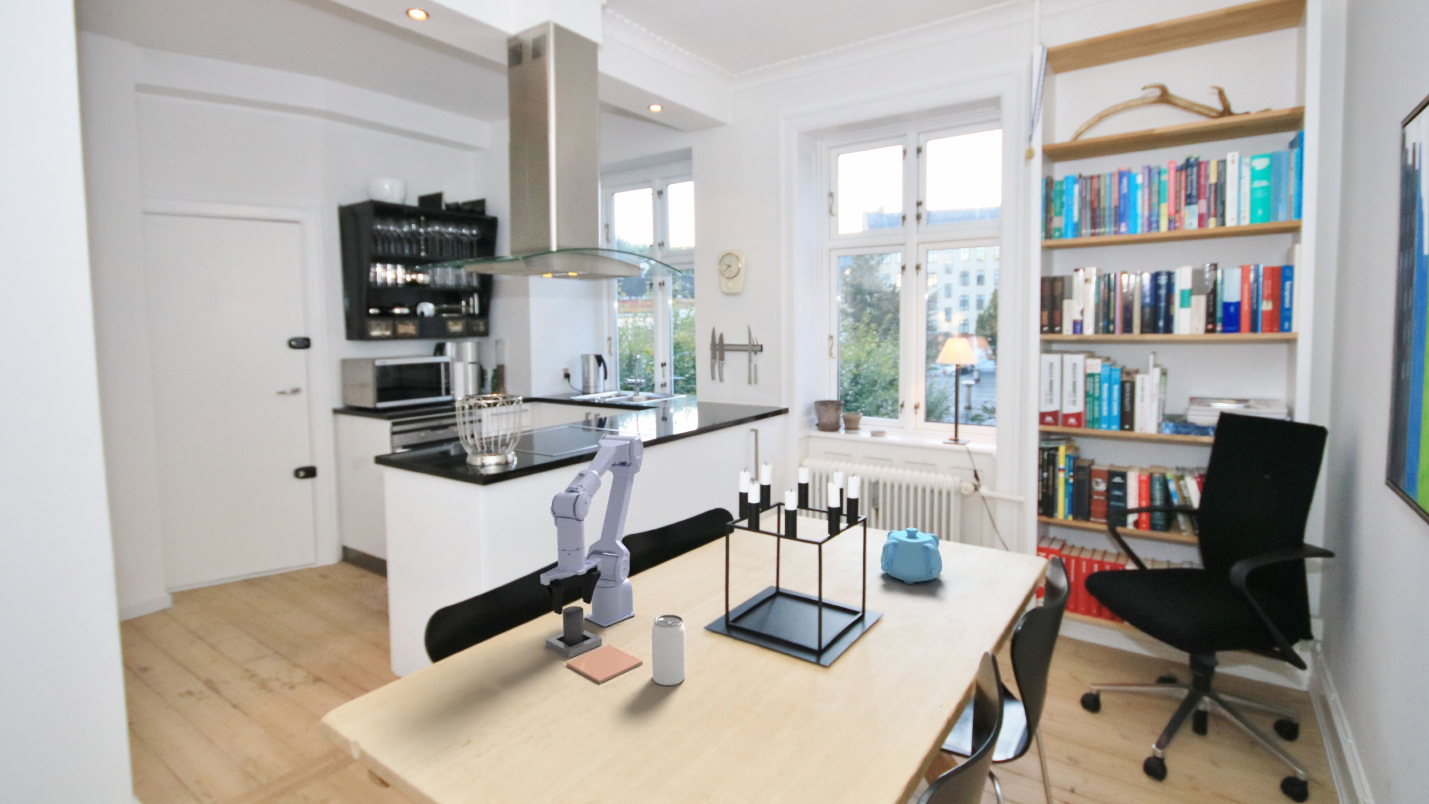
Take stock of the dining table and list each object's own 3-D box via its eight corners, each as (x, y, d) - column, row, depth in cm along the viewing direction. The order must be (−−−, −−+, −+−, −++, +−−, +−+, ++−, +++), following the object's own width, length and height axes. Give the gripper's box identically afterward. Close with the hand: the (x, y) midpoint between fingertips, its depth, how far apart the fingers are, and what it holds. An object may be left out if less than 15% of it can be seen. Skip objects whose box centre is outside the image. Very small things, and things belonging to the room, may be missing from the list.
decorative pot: (873, 581, 193) (874, 532, 191) (887, 563, 207) (888, 517, 205) (935, 591, 185) (936, 540, 184) (945, 571, 200) (947, 524, 198)
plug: (576, 638, 158) (575, 604, 158) (588, 644, 155) (587, 609, 155) (559, 645, 155) (558, 610, 154) (571, 651, 152) (570, 615, 151)
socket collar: (578, 632, 161) (578, 626, 161) (601, 644, 156) (601, 637, 155) (546, 645, 155) (545, 638, 155) (569, 658, 149) (569, 651, 149)
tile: (609, 647, 154) (608, 644, 154) (642, 663, 147) (642, 660, 147) (566, 665, 146) (566, 662, 146) (600, 683, 139) (599, 680, 139)
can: (670, 667, 145) (669, 610, 144) (692, 678, 141) (691, 620, 139) (646, 678, 141) (645, 620, 139) (667, 690, 136) (666, 630, 135)
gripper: (553, 559, 145) (555, 623, 146) (609, 543, 155) (610, 602, 157) (534, 551, 150) (536, 613, 151) (589, 536, 160) (591, 594, 162)
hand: (572, 607), depth 154 cm, fingers open, 7 cm apart
